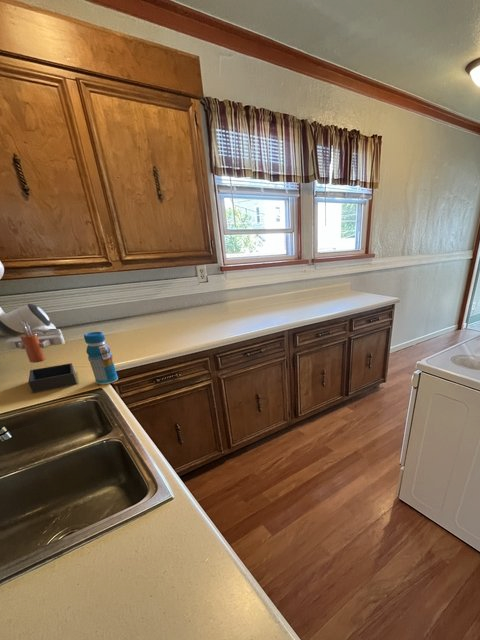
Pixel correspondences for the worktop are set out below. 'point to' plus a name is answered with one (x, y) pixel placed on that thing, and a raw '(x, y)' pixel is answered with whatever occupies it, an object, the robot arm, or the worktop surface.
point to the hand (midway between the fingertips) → (32, 346)
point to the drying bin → (52, 377)
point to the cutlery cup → (32, 345)
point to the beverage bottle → (100, 358)
